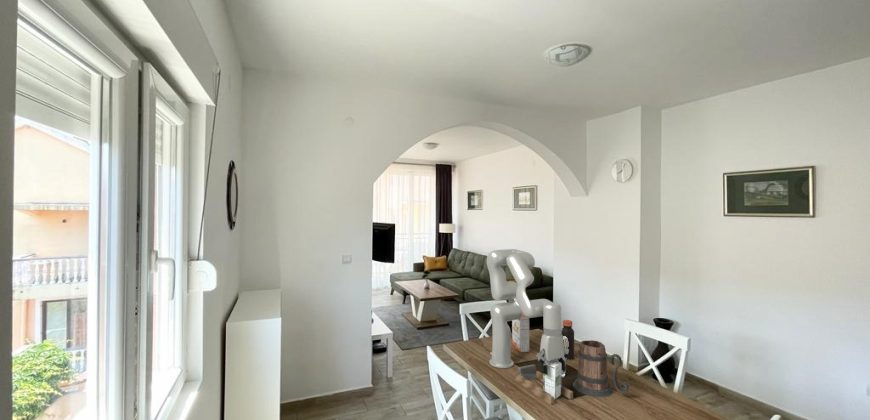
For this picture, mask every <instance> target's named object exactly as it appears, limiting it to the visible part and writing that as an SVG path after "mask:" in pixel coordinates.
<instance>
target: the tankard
mask: <svg viewBox="0 0 870 420" xmlns="http://www.w3.org/2000/svg"><path fill="white" fill-rule="evenodd" d="M577 352H578V353H577V354H578V366H577V375H576V376H577V378H576V379H575V381H574V382H573V383H572V387H573V389H575V390H576V391H577V392H579V393H581V394H584V395H587V396H590V397H594V398H595V397H596V398H607V397H610V396H612V395H613V394H614V389H613V388H612V387H611V385H610V384H609V375H608V363H607V362H609V364H610V365H611V366H614V365H615V358H616V359H617V361H618V363H617V365H616V366H615V368H614V370H613V374H612V378H613V383H614V387H615V388H616V390H617V391H618V392H620V393H622V394H625V393H627V392H628V391H629V390H630V384H629V383H628V382H626V381H622V382H621V384H620V385H619V383H618V377H617V373H618V371H619V370H618V369H620V367H621V364H622V361H623V360H622V357H621V356H620V355H619V354H617V353H614V354H611V355H610V356H608V354H607V352H606V347H605V345H604V344H603V343H602V342H601V341H598V340H594V339H593V340H581V341H580V345H579V348H578V351H577ZM607 360H608V361H607Z"/></svg>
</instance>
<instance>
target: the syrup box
mask: <svg viewBox="0 0 870 420" xmlns="http://www.w3.org/2000/svg"><path fill="white" fill-rule="evenodd" d="M546 365H547V371H548V374H547V375H545V374H543V373H542V374H543V382H542V389H543V390H544V391H546V392H547V393H549V394H550V395H552V396H553V397H554V400H557V399H558V398H559V397H560V396H562V394H561V385H562V370H561V368H562V363H560V362H559V360H557V359H553V360H548V362H547V364H546Z"/></svg>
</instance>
